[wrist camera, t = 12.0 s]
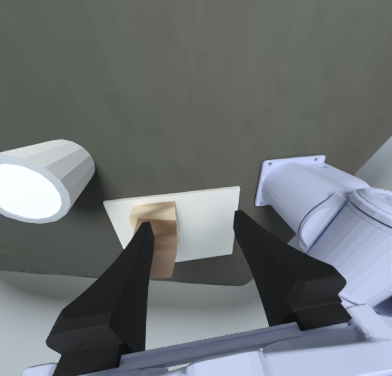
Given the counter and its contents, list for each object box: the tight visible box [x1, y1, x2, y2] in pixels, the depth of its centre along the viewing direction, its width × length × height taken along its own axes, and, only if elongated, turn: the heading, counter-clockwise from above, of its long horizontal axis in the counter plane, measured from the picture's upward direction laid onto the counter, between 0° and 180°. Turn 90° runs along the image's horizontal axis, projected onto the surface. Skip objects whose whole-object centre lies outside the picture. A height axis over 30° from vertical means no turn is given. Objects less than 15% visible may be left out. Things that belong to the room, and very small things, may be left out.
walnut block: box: [133, 218, 177, 278], centre depth 20 cm, size 5×5×5 cm
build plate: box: [103, 186, 240, 262], centre depth 27 cm, size 20×16×1 cm
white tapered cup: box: [0, 139, 95, 223], centre depth 16 cm, size 7×7×7 cm
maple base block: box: [129, 201, 180, 244], centre depth 23 cm, size 6×6×3 cm
